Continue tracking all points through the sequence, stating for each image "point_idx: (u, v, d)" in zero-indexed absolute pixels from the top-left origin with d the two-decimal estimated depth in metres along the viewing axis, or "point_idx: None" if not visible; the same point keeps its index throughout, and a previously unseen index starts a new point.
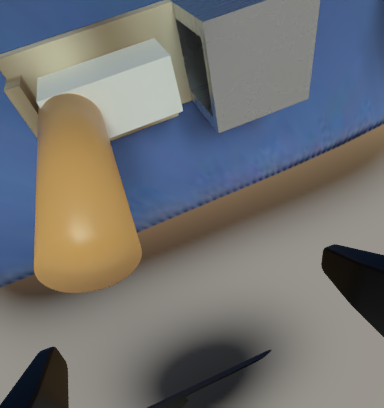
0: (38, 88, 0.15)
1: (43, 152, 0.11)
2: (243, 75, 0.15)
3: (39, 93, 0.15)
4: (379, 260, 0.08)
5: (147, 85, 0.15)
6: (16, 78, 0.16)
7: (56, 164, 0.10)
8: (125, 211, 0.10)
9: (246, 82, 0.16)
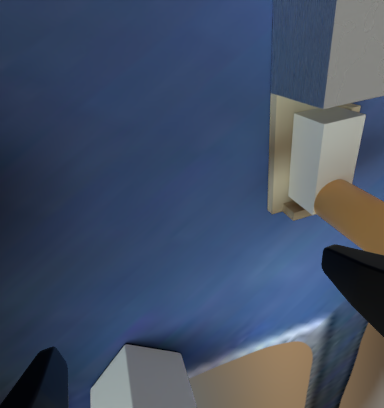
0: (299, 204, 0.23)
1: (360, 246, 0.18)
2: (375, 64, 0.16)
3: (305, 207, 0.23)
4: (379, 260, 0.08)
5: (334, 144, 0.19)
6: (285, 208, 0.25)
7: None
8: None
9: (383, 59, 0.16)
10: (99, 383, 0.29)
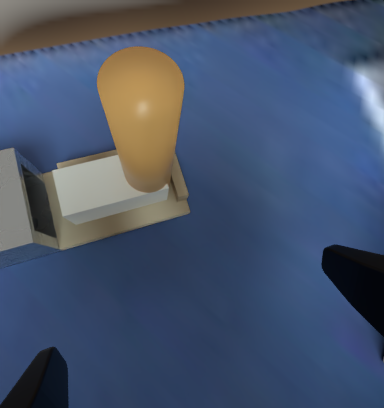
0: (166, 194, 0.21)
1: (166, 161, 0.15)
2: None
3: (166, 192, 0.20)
4: (379, 260, 0.08)
5: (83, 194, 0.19)
6: (179, 200, 0.22)
7: (157, 157, 0.14)
8: (108, 118, 0.11)
9: None
10: None
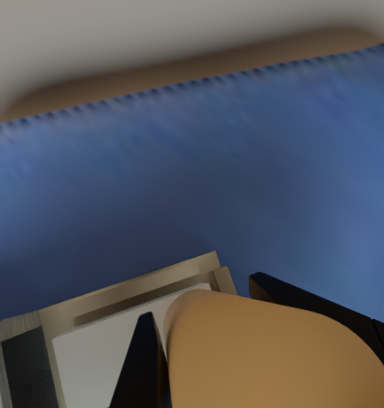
0: None
1: None
2: None
3: None
4: (292, 294, 0.08)
5: (102, 379, 0.12)
6: None
7: None
8: None
9: None
10: None
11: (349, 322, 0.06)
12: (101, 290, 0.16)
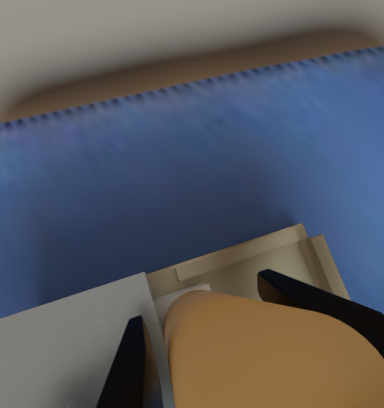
0: None
1: None
2: None
3: None
4: (302, 290, 0.08)
5: None
6: None
7: None
8: None
9: (111, 353, 0.11)
10: None
11: (361, 317, 0.06)
12: (202, 257, 0.17)
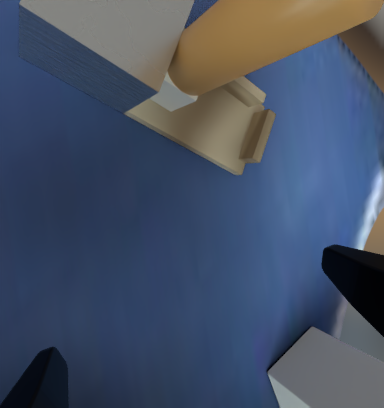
0: (181, 106, 0.18)
1: (245, 71, 0.13)
2: (148, 11, 0.13)
3: (185, 103, 0.17)
4: (379, 260, 0.08)
5: None
6: (244, 160, 0.22)
7: (258, 55, 0.11)
8: None
9: (148, 0, 0.13)
10: None
11: None
12: None
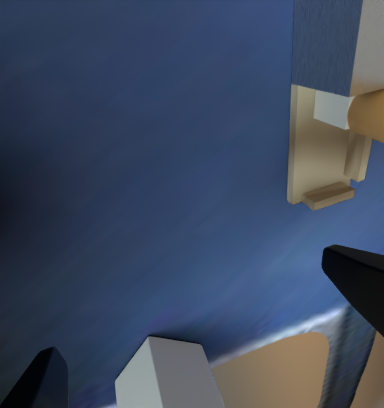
0: (328, 122, 0.20)
1: None
2: None
3: (335, 124, 0.20)
4: (379, 260, 0.08)
5: None
6: (305, 198, 0.25)
7: None
8: None
9: None
10: (124, 375, 0.30)
11: None
12: None
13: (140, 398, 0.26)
